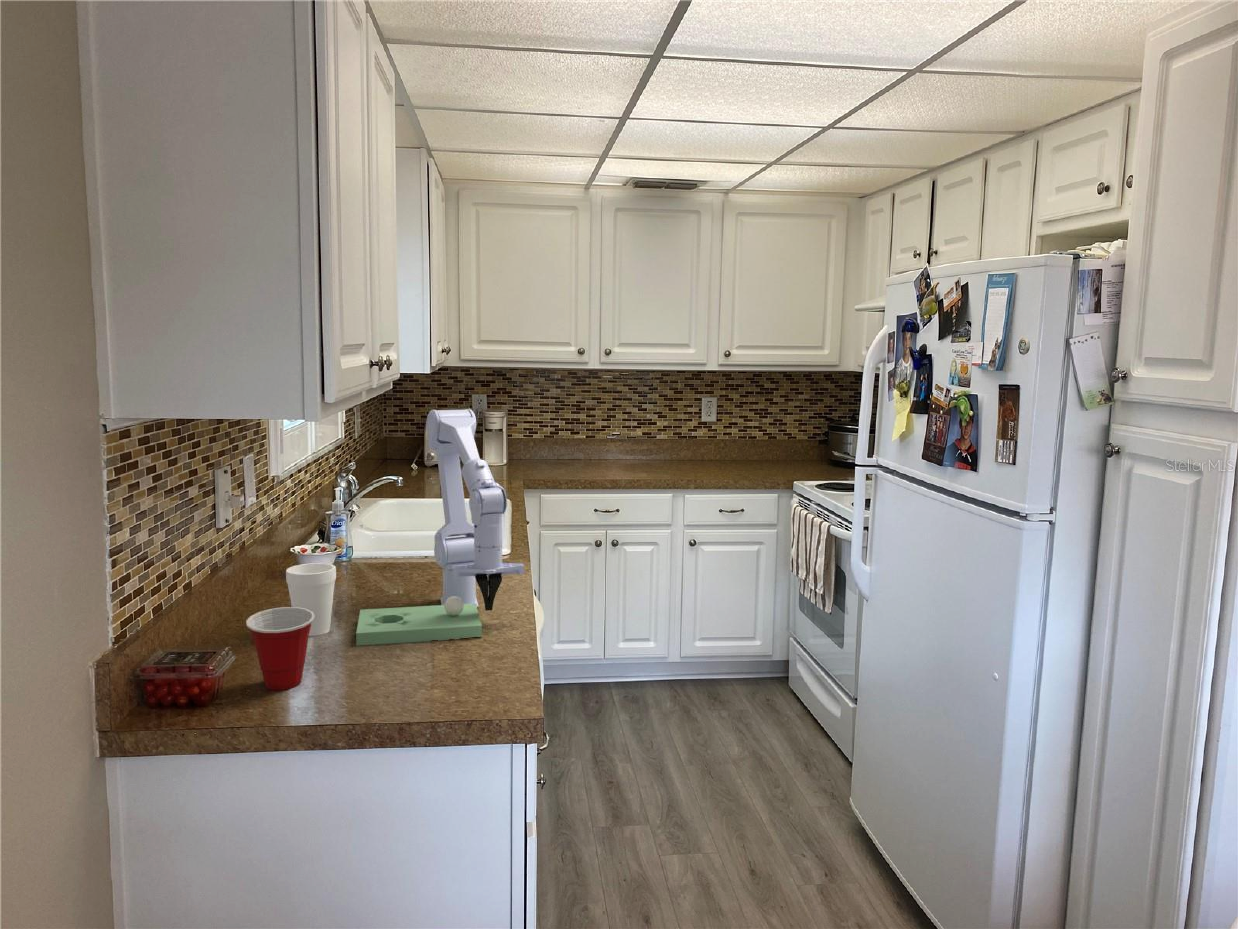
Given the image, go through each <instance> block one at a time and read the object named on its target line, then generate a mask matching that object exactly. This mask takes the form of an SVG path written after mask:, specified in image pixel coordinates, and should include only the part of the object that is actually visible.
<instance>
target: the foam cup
mask: <svg viewBox="0 0 1238 929" xmlns="http://www.w3.org/2000/svg"><path fill="white" fill-rule="evenodd" d="M285 578H286V579H285V582H286V584H287V588H288V592H289V593H288V594H289V599H290V603H291V607H298V608H304V609H308V610H310V611H312V612H313V613H314V616H315V617H314V620H313V621H312V623H311V627H310V632H309V636H308V637H315V636H321V635H325V634H327V633H328V632H329V631H330V630H331V619H332V612H333V602H334V590H335V583H336V579H337V567H336V566H335V565H334V564H331V563H324V562H318V563H317V562H313V563H312V562H311V563H304V564H297V565H292V566H290V567H287V568H286V571H285Z"/></svg>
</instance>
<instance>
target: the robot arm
mask: <svg viewBox="0 0 1238 929" xmlns="http://www.w3.org/2000/svg"><path fill="white" fill-rule="evenodd" d="M425 423H426V425H425V427H426V435H427V443H428V447H429V449H431V450H433V451H435V453H436V460H437V465H438V467H437V468H438V474H439V482H440V483H439V484H440V491H441V498H442V506H443V508H442V509H443V516H444V524H443V526H441V528H439V529H438V530H437V531H436V533H434V537H433V538H434V545H433V546H434V547H433V552H434V554H433V556H434V559H435V563H436V564H437V565H438V566H439V567H440V568H442V594H443V595H442V596H441V597H440V603H441V604H440V605H444V604H445V601H446V600H447V599H448V598H449V597H452V596H457V597H459V598H461V599H462V601H463V603H464V604H472V603H476V607H478V606H479V603H478V599H477V595H476V594H477V593H476V592H477V591H476V588H477V587H476V585H477V586H478V587H479V590H480V593H481V595H482V598H483V602H484V603H483V604H484V609H485V611H493V607H494V602H495V598H496V595H497V593H498V590H499V587H500V586H501V584H502V582H503V577H502V575H503V576H504V575H505V576H506V575H521V576H523V575H524V574H525V573H524V572H525V571H524V570H525V568H524V567H525V565H524V564H523V563H520V562H519V563H513V562H512V563H511V562H509V563H508V562H503V515H504V514H505V513H506V511H507V507H508V499H507V494H506V490H505V489H504V487H503V486H501V485H500V484H499V483H498V482H496V481H495V479H494V476H493V475H492V471H491V470H490V467H489V464H488V462H487V461H485V460H483V459H481V458H480V454H479V451H478V448H477V445H476V441H475V436H476V435H475V434H476V430H477V418H476V415H475V412H474V411H473V410H472V409H471V408H466V409H439V410H437V409H431V410H430V411H429V412H428V414H427V416H426V422H425ZM460 459H461V460H460ZM461 462H462V464H463V466H462V468H461ZM463 480H464V483H465V486H466V488H467V491H468V493H469V500H468V506H469V510H470V514H471V516H470V517H471V523H470V522H469V521H468V517H467V507H466V501H465V494H464V493H465V492H464V485H463ZM479 607H480V606H479Z"/></svg>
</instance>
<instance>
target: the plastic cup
mask: <svg viewBox="0 0 1238 929" xmlns="http://www.w3.org/2000/svg"><path fill="white" fill-rule="evenodd" d="M314 617H315V616H314V613H313V612H312V611H310V610H308V609H304V608H298V607H292V606H283V607H282V606H281V607H275V608H270V609H269V608H268V609H265V610H261V611H258V612H255V613H254V614H252V615H250V616H249V617H248V618H247V619H246V620H245V622H246V627H247V628H248V629H249V630H250V632H251V635H252V639H253V641H254V646H255V649H256V653H257V658H258V659H257V660H258V663H259V667H260V670H261V674H262V679H263V682H264V685H265V688H266V689H268V690H273V691H283V690H289V689H294V688H295V687H298V686H299V685H301V683H302V680H303V675H304V666H305V663H306V657H307V648H308V641H309V637H310V636H309V632H310V627H311V623H312V621H313V620H314Z"/></svg>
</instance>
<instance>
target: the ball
mask: <svg viewBox="0 0 1238 929" xmlns="http://www.w3.org/2000/svg"><path fill="white" fill-rule="evenodd" d="M463 608H464V603H463V601H462V599H461V598H459V597H457V596H452V597H449V598H448V599H447V600H446V601H445V604H444V609H445V611H446V613H447V614H449V615H451V616H456V615H459V614H460V613H461V612H462V611H463Z"/></svg>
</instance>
